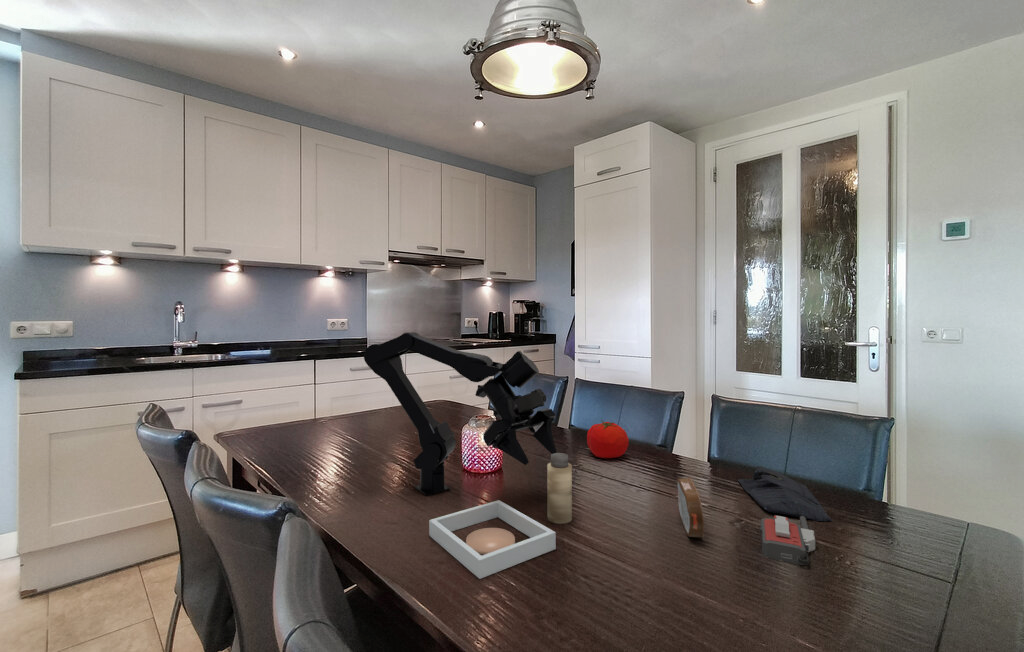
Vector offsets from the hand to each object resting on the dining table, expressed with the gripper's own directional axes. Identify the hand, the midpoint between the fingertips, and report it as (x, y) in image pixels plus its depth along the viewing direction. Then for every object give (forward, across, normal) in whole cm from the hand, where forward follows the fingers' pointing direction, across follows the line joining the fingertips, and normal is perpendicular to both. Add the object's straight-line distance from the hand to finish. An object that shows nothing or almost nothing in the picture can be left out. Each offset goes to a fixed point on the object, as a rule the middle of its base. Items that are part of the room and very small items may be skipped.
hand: (541, 458), depth 99 cm
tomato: (0, +42, +16) cm, 45 cm away
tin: (+26, +14, -10) cm, 32 cm away
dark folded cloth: (+34, +42, -16) cm, 56 cm away
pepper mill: (+11, 0, +5) cm, 12 cm away
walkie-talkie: (+38, +21, -20) cm, 48 cm away
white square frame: (+9, -17, +7) cm, 20 cm away
